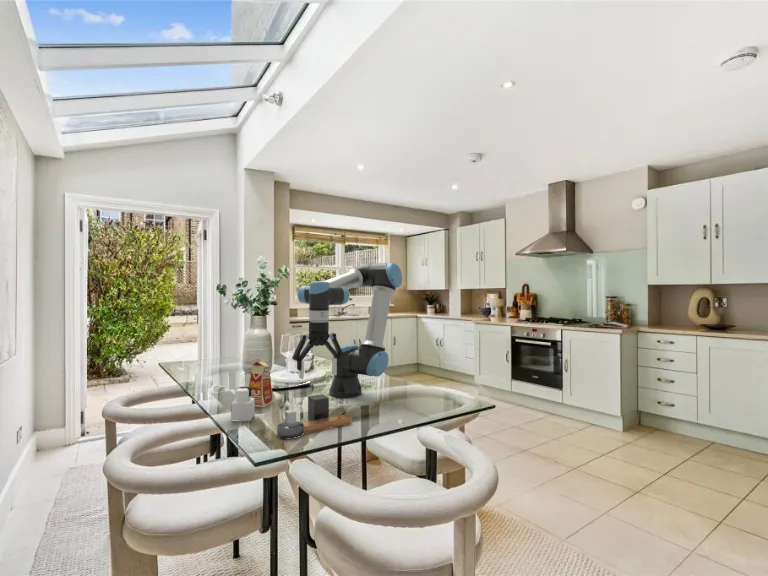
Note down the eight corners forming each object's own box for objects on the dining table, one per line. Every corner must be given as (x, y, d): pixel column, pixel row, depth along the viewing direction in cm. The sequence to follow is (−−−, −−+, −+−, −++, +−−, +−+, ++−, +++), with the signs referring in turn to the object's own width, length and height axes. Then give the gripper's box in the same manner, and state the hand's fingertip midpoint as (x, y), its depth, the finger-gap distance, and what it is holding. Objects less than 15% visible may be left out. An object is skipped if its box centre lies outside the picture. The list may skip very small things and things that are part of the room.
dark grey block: (322, 416, 160) (322, 393, 160) (328, 421, 155) (328, 397, 155) (307, 419, 157) (308, 396, 157) (314, 423, 152) (314, 400, 152)
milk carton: (264, 407, 171) (264, 360, 171) (244, 405, 173) (244, 359, 173) (274, 401, 180) (274, 356, 180) (255, 399, 182) (255, 355, 182)
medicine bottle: (236, 415, 160) (236, 385, 160) (254, 415, 161) (254, 385, 161) (230, 421, 153) (231, 390, 153) (250, 421, 154) (250, 390, 154)
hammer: (343, 418, 158) (343, 398, 158) (354, 425, 150) (354, 404, 150) (273, 432, 143) (273, 409, 143) (282, 441, 135) (282, 417, 135)
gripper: (291, 323, 145) (290, 382, 145) (352, 320, 159) (351, 374, 159) (283, 321, 152) (283, 378, 152) (343, 319, 165) (342, 371, 165)
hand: (318, 376), depth 155 cm, fingers open, 13 cm apart
